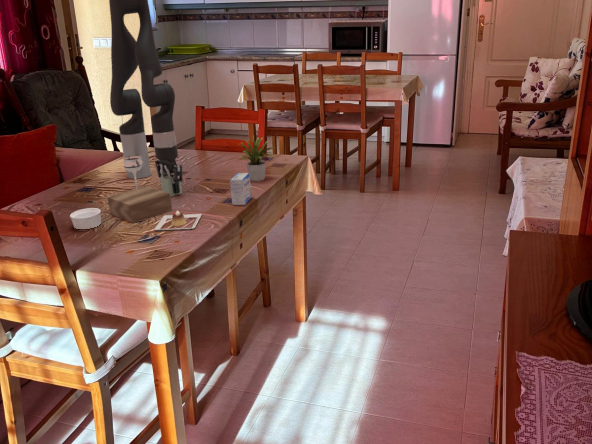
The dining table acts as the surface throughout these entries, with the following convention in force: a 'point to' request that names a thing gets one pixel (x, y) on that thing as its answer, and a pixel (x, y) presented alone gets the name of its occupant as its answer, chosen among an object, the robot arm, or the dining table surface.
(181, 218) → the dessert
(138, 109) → the robot arm
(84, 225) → the ramekin
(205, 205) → the dining table surface
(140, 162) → the wineglass
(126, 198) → the walnut block
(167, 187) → the sage block
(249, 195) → the medicine box
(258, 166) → the house plant
